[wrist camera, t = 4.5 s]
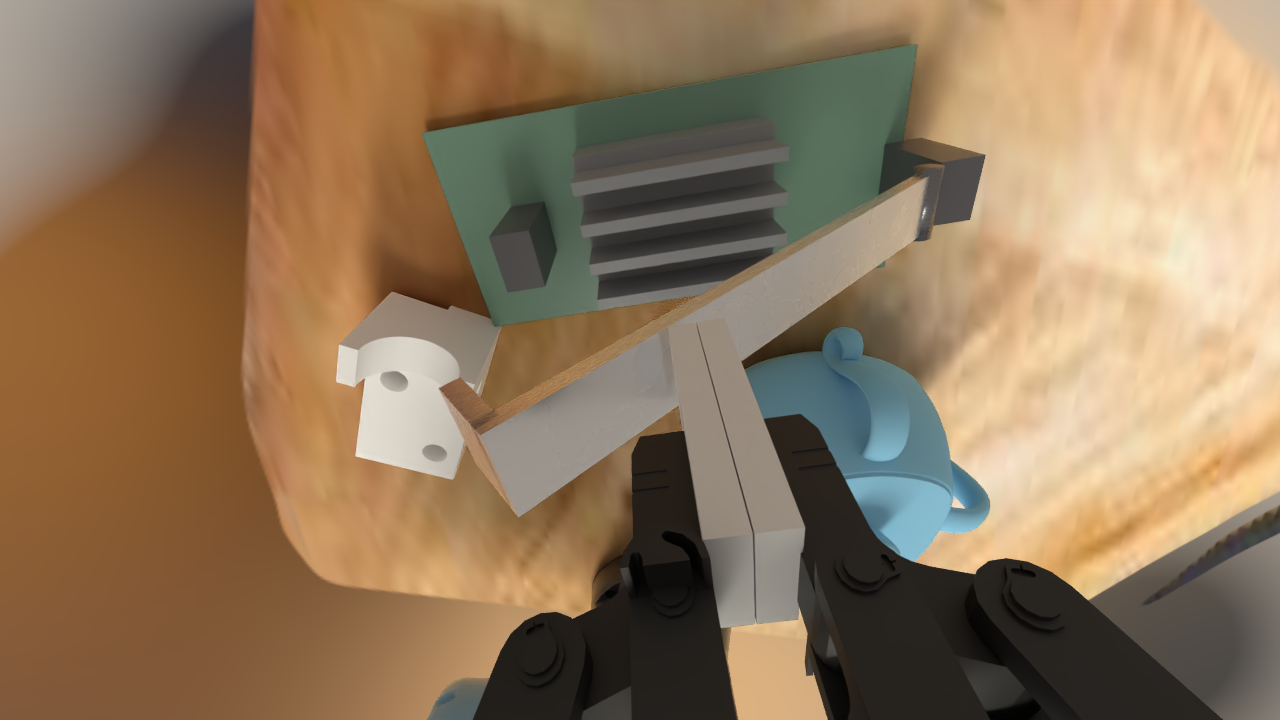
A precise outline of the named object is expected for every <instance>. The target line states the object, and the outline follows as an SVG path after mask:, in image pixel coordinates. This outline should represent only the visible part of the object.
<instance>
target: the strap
mask: <svg viewBox="0 0 1280 720" xmlns="http://www.w3.org/2000/svg"><path fill="white" fill-rule="evenodd" d="M944 168H945V166H944V165H941V164H922V165H917V166H915V167H914V168H913V174H912V177H910V178H908V179H907V180H905V181H903V182H901V183H899V184H898V185H896V186H894V187H892V188H890V189H889V190H887V191H885V192H883V193H882V194H880V195H878V196H876V197H874V198H873V199H871V200H869V201H867V202H865V203H864V204H862V205H860V206H858V207H856V208H855V209H853V210H851V211H849V212H847V213H846V214H844V215H842V216H840V217H839V218H837V219H835V220H833V221H831V222H830V223H828V224H826V225H824V226H822V227H821V228H819V229H817V230H815V231H813V232H812V233H810V234H808V235H806V236H805V237H803V238H801V239H799V240H797V241H796V242H794V243H792V244H790V245H788V246H787V247H785V248H783V249H781V250H779V251H778V252H776V253H774V254H772V255H771V256H769V257H767V258H765V259H763V260H762V261H760V262H758V263H756V264H754V265H753V266H751V267H749V268H747V269H745V270H744V271H742V272H740V273H738V274H737V275H735V276H733V277H731V278H729V279H728V280H726V281H724V282H722V283H720V284H719V285H717V286H715V287H713V288H711V289H710V290H708V291H706V292H704V293H703V294H701V295H699V296H697V297H695V298H694V299H692V300H690V301H688V302H686V303H685V304H683V305H681V306H679V307H677V308H676V309H674V310H672V311H670V312H668V313H667V314H665V315H663V316H661V317H660V318H658V319H656V320H654V321H652V322H651V323H649V324H647V325H645V326H643V327H642V328H640V329H638V330H636V331H634V332H633V333H631V334H629V335H627V336H626V337H624V338H622V339H620V340H618V341H617V342H615V343H613V344H611V345H609V346H608V347H606V348H604V349H602V350H600V351H599V352H597V353H595V354H593V355H592V356H590V357H588V358H586V359H584V360H583V361H581V362H579V363H577V364H575V365H574V366H572V367H570V368H568V369H566V370H565V371H563V372H561V373H559V374H558V375H556V376H554V377H552V378H550V379H549V380H547V381H545V382H543V383H541V384H540V385H538V386H536V387H534V388H532V389H531V390H529V391H527V392H525V393H523V394H522V395H520V396H518V397H516V398H515V399H513V400H511V401H509V402H507V403H506V404H504V405H502V406H500V407H498V408H497V409H495V410H493V409H492V408H491V407H490V406H489V405H488V404H487V403H486V402H485V401H484V400H483V399H482V398H481V397H480V396H479V395H478V394H477V393H476V392H475V391H474V390H473V389H472V388H471V387H470V386H469V385H468V384H467V383H466V382H465V381H464V380H463V379H462V378H461V377H459V378H457V379H455V380H453V381H452V382H450V383H448V384H446V385H444V386H442V387H440V388H439V391H440V393H441V395H442V397H443V399H444V401H445V403H446V405H447V407H448V409H449V411H450V413H451V415H452V417H453V419H454V421H455V423H456V425H457V427H458V429H459V431H460V433H461V435H462V437H463V439H464V441H465V443H466V445H467V447H468V449H469V451H470V453H471V455H472V457H473V459H474V461H475V463H476V465H477V466H478V467H479V469H480V470H481V471H482V472H483V474H484V475H485V476H486V477H487V479H488V480H489V481H490V483H491V484H492V485H493V486H494V488H495V489H496V490H497V491H498V493H499V494H500V495H501V496H502V498H503V499H504V500H505V501H506V503H507V504H508V505H509V507H510V508H511V509H512V510H513V512H514V513H515V514H516V515H517V517H518V518H519V517H520V516H522V515H523V514H524V513H526V512H527V511H529V510H530V509H532V508H533V507H534V506H536V505H537V504H539V503H540V502H542V501H543V500H544V499H546V498H547V497H549V496H550V495H551V494H553V493H554V492H556V491H557V490H559V489H560V488H561V487H563V486H564V485H566V484H567V483H569V482H570V481H571V480H573V479H574V478H576V477H577V476H579V475H580V474H581V473H583V472H584V471H586V470H587V469H589V468H590V467H591V466H593V465H594V464H596V463H597V462H599V461H600V460H601V459H603V458H604V457H606V456H607V455H609V454H610V453H611V452H613V451H614V450H616V449H617V448H619V447H620V446H621V445H623V444H624V443H626V442H627V441H629V440H630V439H631V438H633V437H634V436H636V435H637V434H638V433H640V432H641V431H643V430H644V429H646V428H647V427H648V426H650V425H651V424H653V423H654V422H656V421H657V420H658V419H660V418H661V417H663V416H664V415H666V414H667V413H668V412H670V411H671V410H673V409H674V408H676V407H677V406H678V398H677V391H676V384H675V377H674V369H673V362H672V355H671V348H670V340H669V333H668V326H674V325H681V324H688V323H694V322H695V323H696V326H697V322H701V321H708V320H714V319H721V318H725V321H726V323H727V326H728V328H729V331H730V334H731V336H732V339H733V341H734V344H735V347H736V349H737V352H738V354H739V357H740V360H741V361H743V360H744V359H745V358H747V357H748V356H750V355H751V354H753V353H754V352H755V351H757V350H758V349H760V348H761V347H763V346H764V345H765V344H767V343H768V342H770V341H771V340H773V339H774V338H775V337H777V336H778V335H780V334H781V333H783V332H784V331H785V330H787V329H788V328H790V327H791V326H793V325H794V324H795V323H797V322H798V321H800V320H801V319H803V318H804V317H805V316H807V315H808V314H810V313H811V312H812V311H814V310H815V309H817V308H818V307H820V306H821V305H822V304H824V303H825V302H827V301H828V300H830V299H831V298H832V297H834V296H835V295H837V294H838V293H840V292H841V291H842V290H844V289H845V288H847V287H848V286H850V285H851V284H852V283H854V282H855V281H857V280H858V279H860V278H861V277H862V276H864V275H865V274H867V273H868V272H870V271H871V270H872V269H874V268H875V267H877V266H878V265H880V264H881V263H882V262H884V261H885V260H887V259H888V258H890V257H891V256H892V255H894V254H895V253H897V252H898V251H899V250H901V249H902V248H904V247H905V246H907V245H908V244H909V243H911V242H912V241H925V240H928V239H930V238H931V233H932V228H933V223H934V218H935V213H936V208H937V203H938V198H939V193H940V188H941V183H942V178H943V173H944Z"/></svg>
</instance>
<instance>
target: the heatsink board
mask: <svg viewBox="0 0 1280 720" xmlns="http://www.w3.org/2000/svg"><path fill="white" fill-rule="evenodd" d="M916 50H917V44H914V45H905V46H899V47H894V48H888V49H883V50H877V51H871V52H866V53H860V54H855V55H849V56H844V57H838V58H832V59H827V60H821V61H816V62H810V63H805V64H799V65H793V66H788V67H782V68H777V69H771V70H766V71H760V72H754V73H749V74H743V75H738V76H732V77H727V78H721V79H715V80H710V81H704V82H699V83H693V84H688V85H682V86H677V87H671V88H665V89H660V90H654V91H649V92H643V93H638V94H632V95H626V96H621V97H615V98H610V99H604V100H599V101H593V102H587V103H582V104H576V105H571V106H565V107H560V108H554V109H548V110H543V111H537V112H532V113H526V114H521V115H515V116H509V117H504V118H498V119H493V120H487V121H482V122H476V123H470V124H465V125H459V126H454V127H448V128H443V129H437V130H431V131H426V132H424V133H422V135H423V138H424V141H425V143H426V146H427V149H428V151H429V154H430V157H431V159H432V162H433V165H434V167H435V170H436V173H437V175H438V178H439V181H440V183H441V186H442V189H443V191H444V194H445V197H446V199H447V202H448V205H449V207H450V210H451V213H452V215H453V218H454V220H455V223H456V226H457V228H458V231H459V234H460V236H461V239H462V242H463V244H464V247H465V250H466V252H467V255H468V258H469V260H470V263H471V266H472V268H473V271H474V274H475V276H476V279H477V282H478V284H479V287H480V290H481V292H482V295H483V298H484V300H485V303H486V306H487V308H488V311H489V314H490V316H491V319H492V322H493V324H494V327H496V326H502V325H509V324H515V323H522V322H528V321H535V320H541V319H548V318H554V317H561V316H567V315H574V314H580V313H587V312H593V311H600V310H606V309H613V308H619V307H626V306H632V305H639V304H645V303H652V302H658V301H665V300H671V299H678V298H684V297H691V296H697V295H701V294H703V293H704V292H706V291H708V290H710V289H711V288H713V287H715V286H717V285H719V284H720V283H722V282H724V281H726V280H728V279H729V278H731V277H733V276H735V275H737V274H738V273H740V272H742V271H744V270H745V269H747V268H749V267H751V266H753V265H754V264H756V263H758V262H760V261H762V260H763V259H765V258H767V257H769V256H771V255H772V254H774V253H776V252H778V251H779V250H781V249H783V248H785V247H787V246H788V245H790V244H792V243H794V242H796V241H797V240H799V239H801V238H803V237H805V236H806V235H808V234H810V233H812V232H813V231H815V230H817V229H819V228H821V227H822V226H824V225H826V224H828V223H830V222H831V221H833V220H835V219H837V218H839V217H840V216H842V215H844V214H846V213H847V212H849V211H851V210H853V209H855V208H856V207H858V206H860V205H862V204H864V203H865V202H867V201H869V200H871V199H873V198H874V197H876V196H878V195H880V194H882V193H883V192H885V191H887V190H889V189H890V188H892V187H894V186H896V185H898V184H899V183H901V182H903V181H905V180H907V179H908V178H910V177H912V174H913V168H914V167H915V166H917V165H922V164H941V165H944V166H945V168H944V173H943V178H942V183H941V188H940V193H939V198H938V203H937V208H936V213H935V218H934V223H933V226H934V225H940V224H946V223H953V222H959V221H965V220H970V217H971V213H972V209H973V205H974V201H975V197H976V192H977V188H978V184H979V180H980V176H981V172H982V168H983V164H984V160H985V155H984V154H980V153H976V152H972V151H969V150H965V149H961V148H957V147H954V146H950V145H946V144H942V143H938V142H935V141H931V140H927V139H923V138H918V139H912V140H906V141H903V138H904V131H905V124H906V118H907V111H908V104H909V98H910V91H911V84H912V77H913V71H914V64H915V57H916ZM884 266H885V261H884V262H882V263H881V264H880V265H878V266H877V267H875V268H879V267H884Z"/></svg>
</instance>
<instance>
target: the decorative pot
mask: <svg viewBox="0 0 1280 720" xmlns="http://www.w3.org/2000/svg"><path fill="white" fill-rule="evenodd" d="M863 347H864V344H863V338H862V336H861V334H860V333H859V332H858V331H857V330H856V329H853V328H850V327H845V326H842V327H838V328H835V329H833V330H832V331H831V332H830V333H829V334H828V335H827V336H826V338H825V340H824V342H823V347H822V351H811V352H802V353H794V354H789V355H783V356H779V357H775V358H771V359H767V360H764V361H762V362H759V363H756V364H754V365H752V366H750V367H748V368H746V369H745V373H746V375H747V378H748V380H749V383H750V386H751V388H752V391H753V393H754V396H755V398H756V401H757V404H758V406H759V409H760V411H761V414H762V417H763V419H765V418H772V417H780V416H787V415H794V414H802V415H803V416H804V417H805V418H806V419H808V420H809V421H810V422H811V423H813V424H814V425H815V426H816V427H817V428H819V430H820V432H821V434H822V436H823V438H824V440H825V442H826V444H827V446H828V449H829V451H831V453H832V455H833V457H834V459H835V461H836V464H837V467H839V469H840V471H841V472H842V474H843V476H844V478H845V480H846V482H847V484H848V486H849V488H850V490H851V492H852V493H853V495H854V497H855V499H856V501H857V503H858V505H859V507H860V509H861V511H862V513H863V515H864V516H865V518H866V520H867V522H868V524H869V526H870V528H871V529H872V531H873V532H874V534H875V535H876V536H877V538H878V539H879V540H880V541H881V542H882V543H884V544H885V545H886V546H888V547H889V548H890V549H892V550H893V551H895V552H896V553H897V554H898V555H900V556H902V557H904V558H906V559H908V560H911V561H913V562H914V561H915V560H916V559H917V558H919V557H920V556H921V555H922V553H923V552H924V551H925V550H926V549H927V548H928V546H929V545H930V544H931V543H932V541H933V540H934V538H935V536H936V535H937V533H938V532H939V531H943V532H948V533H965V532H969V531H972V530H973V529H975V528H977V527H978V526H980V525H981V524H982V523H983V521H984V520H985V519H986V517H987V515H988V513H989V510H990V500H989V498H988V495H987V493H986V492H985V490H984V489H983V488H982V487H981V486H980V484H979V483H978V482H977V481H976V480H975V479H973V478H972V477H971V476H970V475H969V474H968V473H967V472H965V471H964V470H963V469H962V468H960V467H959V466H958V465H957V464H955V463H954V462H953V461H952V460H950V453H949V447H948V442H947V438H946V434H945V431H944V429H943V426H942V423H941V420H940V417H939V415H938V413H937V411H936V409H935V407H934V405H933V403H932V401H931V400H930V398H929V397H928V395H927V393H926V392H925V390H924V389H923V388H922V386H921V385H920V384H919V383H918V381H917V380H916V379H915V378H914V377H913V376H912V375H910V374H909V373H908V372H907V371H905V370H903V369H901V368H899V367H897V366H896V365H894V364H892V363H889V362H887V361H884V360H881V359H878V358H874V357H870V356H866V355H862V353H863ZM953 495H954V496H955V497H956V498H957V499H958V500H959V501H960V503H961V504H962V505H963V506H964V508H965V509H961V508H953V507H951V506H952V502H953Z"/></svg>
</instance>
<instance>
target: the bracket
mask: <svg viewBox="0 0 1280 720" xmlns="http://www.w3.org/2000/svg"><path fill="white" fill-rule="evenodd" d="M501 327H502V326H496V327H494V324H493V322H492V319H490V318H487V317H484V316H481V315H478V314H475V313H472V312H469V311H466V310H463V309H460V308H457V307H454V306H450V307H449V309H448V310H446V309H443V308H440V307H437V306H434V305H431V304H428V303H425V302H422V301H419V300H416V299H413V298H410V297H407V296H404V295H401V294H398V293H395V292H391V293H390V294H389V295H388V296H387V297H386V298H385V299H384V300H383V301H382V302H381V303H380V304H379V305H378V306H377V307H376V308H375V309H374V310H373V311H372V312H371V313H370V314H369V315H368V316H367V317H366V318H365V319H364V320H363V321H362V322H361V323H360V324H359V325H358V326H357V327H356V328H355V329H354V330H353V331H352V332H351V333H350V334H349V335H348V336H347V337H346V338H345V339H344V340H343V341H342V342H341V343H340V344H339V352H338V364H337V376H336V382H338V383H342V384H346V385H349V386H353V387H355V386H356V385H357V384H358V383H359V382H360V381H362V380H363V379H365V383H364V391H363V400H362V408H361V416H360V424H359V432H358V440H357V448H356V457H361V458H365V459H369V460H373V461H377V462H381V463H385V464H389V465H394V466H398V467H402V468H406V469H410V470H414V471H418V472H422V473H427V474H431V475H435V476H439V477H443V478H447V479H451V480H453V479H454V477H455V474H456V472H457V469H458V467H459V464H460V462H461V459H462V457H463V454H464V452H465V449H466V443H465V441H464V439H463V437H462V435H461V433H460V431H459V429H458V427H457V425H456V423H455V421H454V419H453V417H452V415H451V413H450V411H449V409H448V407H447V405H446V403H445V401H444V399H443V397H442V395H441V393H440V391H439V388H440V387H442V386H444V385H446V384H448V383H450V382H452V381H453V380H455V379H457V378H459V377H461V378H462V379H463V380H464V381H465V382H466V383H467V384H468V385H469V386H470V387H471V388H472V389H473V390H474V391H475V392H476V393H477V394H478V395H479V396H480V397H481V395H482V391H483V388H484V384H485V381H486V378H487V374H488V371H489V368H490V364H491V361H492V357H493V354H494V351H495V347H496V344H497V340H498V337H499V334H500V330H501Z"/></svg>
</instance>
